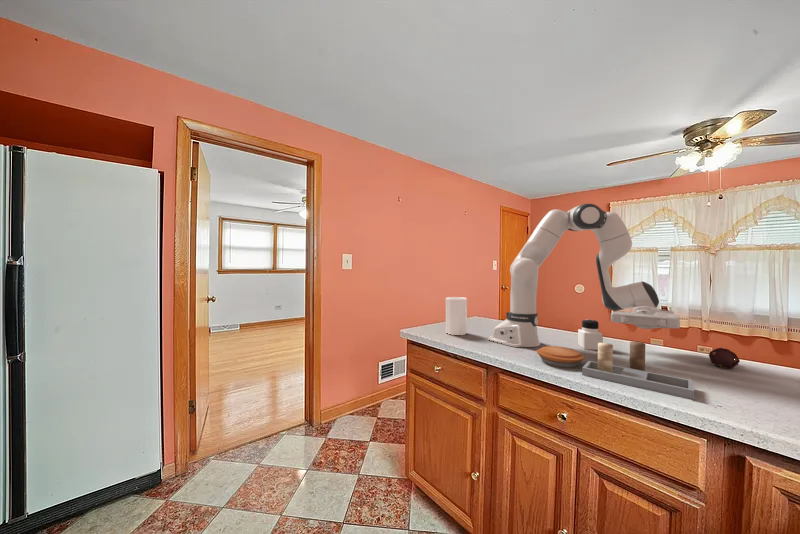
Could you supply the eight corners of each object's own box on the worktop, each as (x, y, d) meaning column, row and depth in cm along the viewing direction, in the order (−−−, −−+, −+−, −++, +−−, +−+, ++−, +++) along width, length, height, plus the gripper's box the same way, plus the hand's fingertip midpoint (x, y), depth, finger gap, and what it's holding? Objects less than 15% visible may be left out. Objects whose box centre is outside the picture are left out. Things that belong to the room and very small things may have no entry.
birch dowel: (596, 375, 97) (596, 344, 97) (598, 371, 100) (599, 341, 100) (611, 378, 94) (611, 346, 94) (613, 374, 97) (613, 344, 97)
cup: (470, 333, 156) (471, 297, 156) (460, 337, 148) (460, 299, 148) (452, 330, 164) (452, 296, 164) (441, 333, 155) (441, 298, 155)
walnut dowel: (629, 373, 99) (629, 343, 99) (630, 370, 102) (630, 341, 102) (644, 376, 96) (644, 345, 96) (645, 373, 99) (645, 343, 99)
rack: (582, 375, 97) (582, 367, 97) (588, 367, 104) (588, 360, 104) (694, 400, 79) (694, 390, 79) (692, 388, 87) (692, 380, 87)
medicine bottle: (602, 350, 126) (603, 322, 125) (584, 349, 127) (584, 321, 127) (595, 345, 133) (595, 319, 132) (577, 345, 134) (578, 318, 134)
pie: (590, 363, 109) (590, 350, 109) (574, 373, 99) (575, 358, 99) (547, 354, 121) (547, 341, 121) (529, 362, 110) (529, 348, 110)
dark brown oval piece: (748, 356, 97) (736, 350, 108) (716, 347, 101) (708, 342, 113) (740, 376, 97) (729, 368, 109) (709, 366, 102) (702, 359, 114)
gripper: (612, 307, 125) (607, 311, 115) (679, 311, 111) (680, 316, 101) (612, 322, 125) (607, 327, 115) (679, 328, 111) (680, 335, 101)
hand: (642, 322), depth 108 cm, fingers open, 8 cm apart
